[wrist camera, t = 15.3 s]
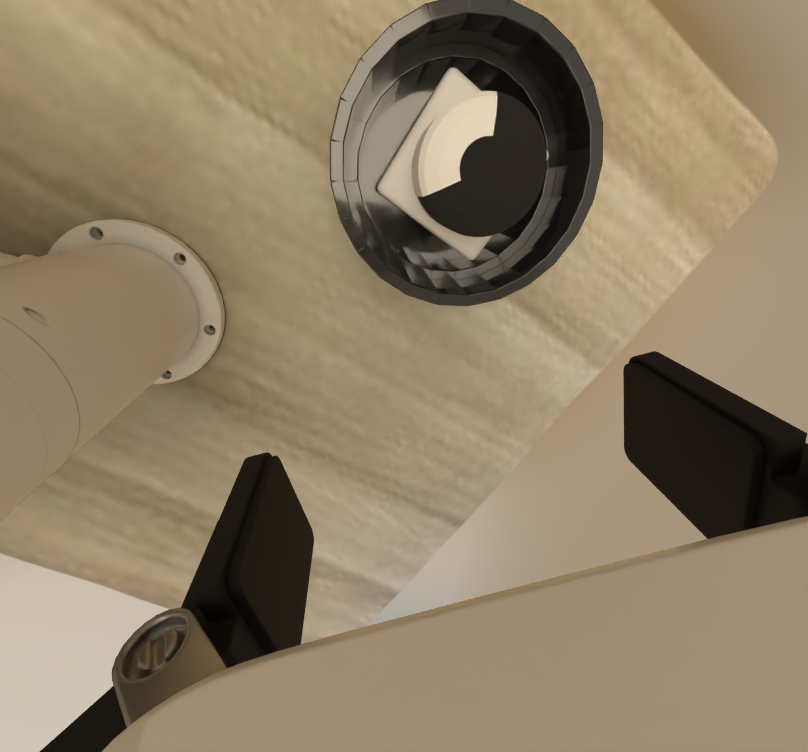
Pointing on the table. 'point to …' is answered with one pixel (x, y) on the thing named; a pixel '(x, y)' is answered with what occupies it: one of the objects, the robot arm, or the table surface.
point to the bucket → (399, 108)
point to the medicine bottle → (467, 164)
